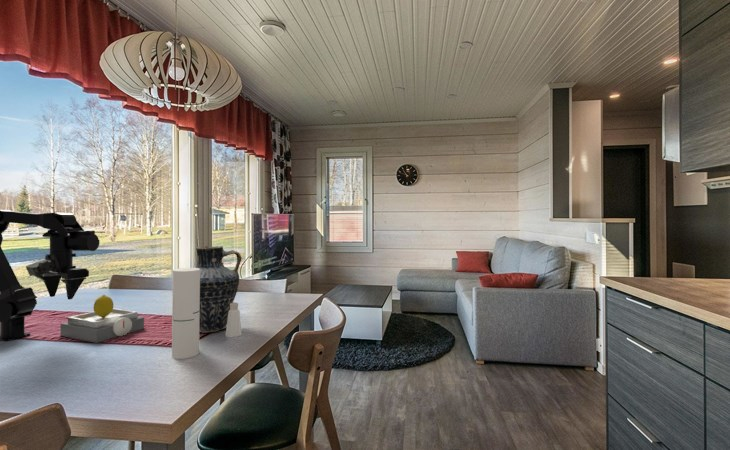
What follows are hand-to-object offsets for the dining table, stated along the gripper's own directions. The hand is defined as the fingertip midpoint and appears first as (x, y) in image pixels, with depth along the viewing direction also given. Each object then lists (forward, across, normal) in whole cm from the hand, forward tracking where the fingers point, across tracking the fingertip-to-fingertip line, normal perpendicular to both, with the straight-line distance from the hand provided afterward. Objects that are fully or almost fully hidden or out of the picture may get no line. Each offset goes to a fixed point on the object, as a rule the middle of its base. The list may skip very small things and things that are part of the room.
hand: (61, 297), depth 115 cm
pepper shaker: (+13, +50, +24) cm, 57 cm away
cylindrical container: (+13, +49, +5) cm, 51 cm away
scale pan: (+9, +7, +9) cm, 15 cm away
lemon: (+8, +7, +9) cm, 14 cm away
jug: (+13, +38, +26) cm, 48 cm away
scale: (+13, +7, +9) cm, 17 cm away
